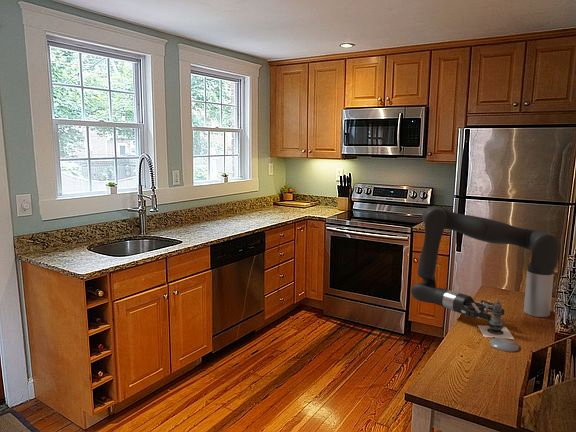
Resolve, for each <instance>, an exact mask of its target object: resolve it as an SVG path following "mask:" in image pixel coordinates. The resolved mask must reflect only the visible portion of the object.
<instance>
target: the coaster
mask: <svg viewBox="0 0 576 432" xmlns="http://www.w3.org/2000/svg"><path fill="white" fill-rule="evenodd" d="M489 343H490V344H489V345H490V346H491V347H492V348H493V349H496V350H498V351H500V352H507V353H513V352H517V351H519V350H520V346H519V344H518V343H517V342H515V341H513V340H512V339H511V340H510V339H507V338H491V339H490V340H489Z"/></svg>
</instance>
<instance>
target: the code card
mask: <svg viewBox="0 0 576 432" xmlns="http://www.w3.org/2000/svg"><path fill="white" fill-rule="evenodd" d="M477 327H478V328H479V330H480V332H481V334H482V335H483V337H484V338H493V337H495V338H503V339H508V340H510V339H511V340H515V338H514V336H513V335H512V333H511V332H510V330H509V329H508V328H507V327H506V326H504V327H503V329H501V330H502V331H503V334H501V335H496V334H492V333H489V332H488V331H487V330H488V329H489V328H490V327H489V325H479V324H478V325H477Z"/></svg>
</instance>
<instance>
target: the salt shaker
mask: <svg viewBox="0 0 576 432" xmlns="http://www.w3.org/2000/svg"><path fill="white" fill-rule="evenodd" d="M492 303H493V311H491V312H490V313H491V320H490V321H488V320H486V322H487V324H488V325H487V326H489V327H490V328H489V329H488V330H487V331H488V332H489V333H492V334H496V335H501V334H503V331H502V330H501V329H503V327H505V325H506V323H505V322H504V320H502V315H501V314H502V312H501V309H503V306H502V305H503V304H502V303H501V302H500V301H499V300H496V302H492Z"/></svg>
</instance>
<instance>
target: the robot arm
mask: <svg viewBox="0 0 576 432" xmlns="http://www.w3.org/2000/svg"><path fill="white" fill-rule="evenodd" d="M421 219H422V222H423V224H424V240H423V245H422V248H421V250H420V251H421V252H420V256H419V261H418V264H417V265H418V266H417V267H418V268H417V276H418V278H421V279H422V282H419V283H418V282H417V283H415V284H414V285H413V286H412V287H411V289H410V293H411V296H412V298H414V299H415V300H417V301H419V302H422V303H428V304H434V305H438V306H440V307H442V308H446V309H447V310H449V311H453V312H455V313H458V314H461V315H463V316H466V317H467V318H470V319H473V320H474V319H476V318H477V319H481V320H482V319H483V320H486V321H487V320H488V321H490V320H491V318H492V314H489V313H492V312H491V311H493V303H494V302H490V301H487V300H484V299H482V300H480V301H474V298H473V296H471V295H468V294H464V293H461V292H458V291H454V290H449V289H447V288H442V287H437V283H436V280H437V279H436V271H437V270H436V269H437V262H438V255H439V249H440V246H441V245H440V244H441V239H442V236H443V233H444V230H445V229H446V230H451V231H454V232H457V233H460V234H462V235H465V236H467V237H469V238H471V239H473V240H478V241H481V242H485V243H491V244H496V245H497V244H498V245H512V246H517V247H520V248H522V249H523V248H524V249H526V250H529V251H530V252H531V257H530V261H529V262H528V263H527V268H526V279H525V293H524V301H523V302H524V303H523V312H524V313H525V314H527V315H529V316H532V317H533V316H534V317H537V318H538V317H539V318H547V317H549V316H550V315H551V307H552V306H551V305H552V295H553V294H552V293H553V285H554V275H555V270H556V269H557V263H558V258H559V250H560V248H559V247H560V245H559V241H558V238H557V237H555V235H552V234H551V233H549V232H547V231H544V230H537V229H529V228H522V227H517V226H514V225H512V224H509V223H505V222H502V221H498V220H494V219H490V218H485V217H482V216H475V215H468V214H463V213H458V212H454V211H451V210H448V209H445V208H443V207H440V206H435V205H432V206H429V207H426V208H425V209H424V210H423V212H422V214H421ZM501 312H502V314H501V316H504V315H505V309H503V308H502V309H501Z"/></svg>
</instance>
